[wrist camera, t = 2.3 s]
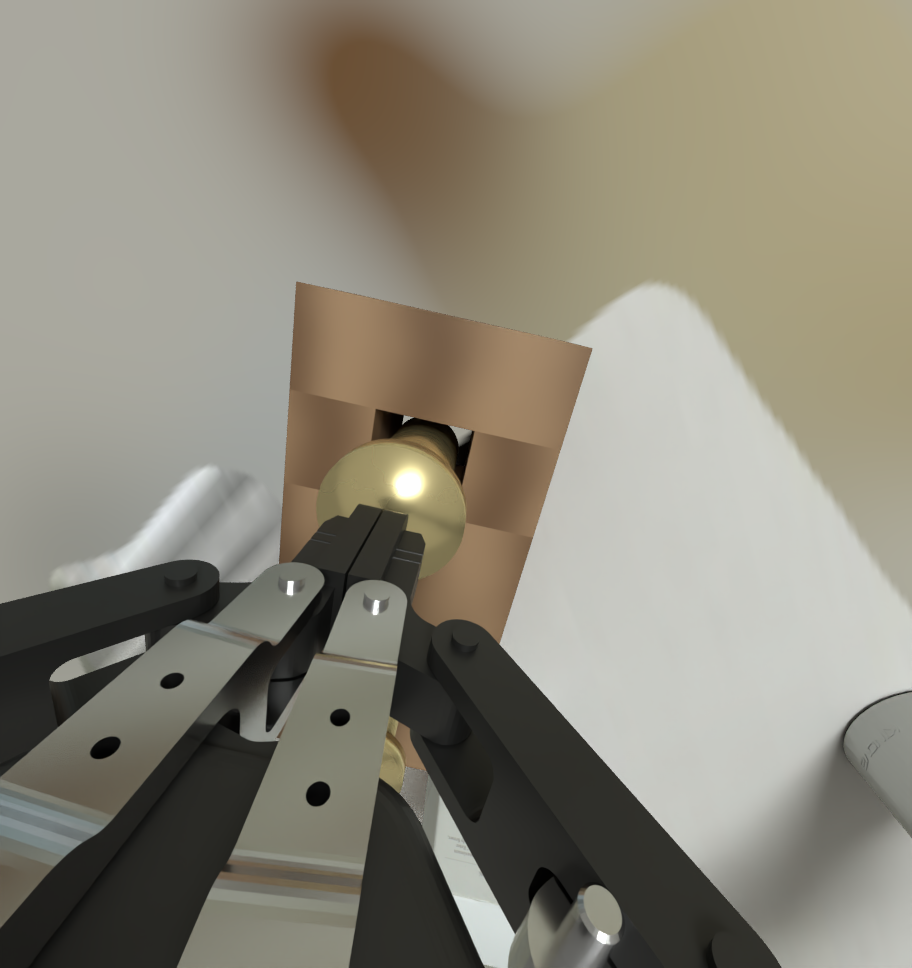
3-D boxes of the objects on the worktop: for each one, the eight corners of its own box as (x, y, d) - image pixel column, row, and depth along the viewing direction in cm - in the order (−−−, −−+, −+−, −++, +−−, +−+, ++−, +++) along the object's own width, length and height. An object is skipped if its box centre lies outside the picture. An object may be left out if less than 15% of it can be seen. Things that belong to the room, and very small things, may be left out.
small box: (431, 741, 37) (403, 949, 24) (449, 688, 34) (427, 889, 22) (521, 764, 37) (537, 982, 25) (545, 713, 34) (575, 926, 22)
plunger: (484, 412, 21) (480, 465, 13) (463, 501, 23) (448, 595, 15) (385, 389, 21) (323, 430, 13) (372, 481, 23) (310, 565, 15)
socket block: (560, 340, 24) (592, 348, 17) (464, 676, 34) (457, 777, 26) (356, 294, 24) (296, 281, 17) (317, 644, 34) (268, 735, 26)
